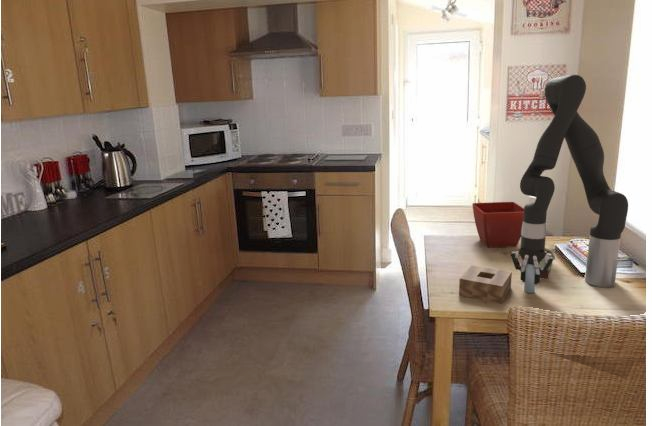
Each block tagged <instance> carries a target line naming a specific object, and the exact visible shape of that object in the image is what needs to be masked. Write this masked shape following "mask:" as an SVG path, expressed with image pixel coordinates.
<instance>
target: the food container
mask: <svg viewBox="0 0 652 426" xmlns="http://www.w3.org/2000/svg"><path fill="white" fill-rule="evenodd" d="M545 253H546V255H548V256H550V257H551V256H552V257H554V259H553V261H555V260H556V257H555V253H554V251H553V250H551V249H549V248H546V247H545ZM520 259H521V265H522V264H523V259H522V258H521V257H520ZM545 260H546V259H545V258H544V259H543V260H542V261H540V267H541V269H543V268H544V267H545V265H546V262H545ZM552 266H553V262H552V263H551V265H550V266H549V268H548V270H547V271H546V273H545V274H541V275H540V280H545V281H549V279H550V274H551V270H552Z"/></svg>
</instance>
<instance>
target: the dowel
mask: <svg viewBox="0 0 652 426" xmlns="http://www.w3.org/2000/svg"><path fill="white" fill-rule="evenodd" d="M535 274H536V270H535V266H534V264H531V263H530V264H528V263H527V264H526V270H525V283H524V284H523V285H524V287H523V288H524V289H523V290H524V291H523V292H525V293H527V294H528V293H529V294H533V293H535V291H536V284H535Z"/></svg>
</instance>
